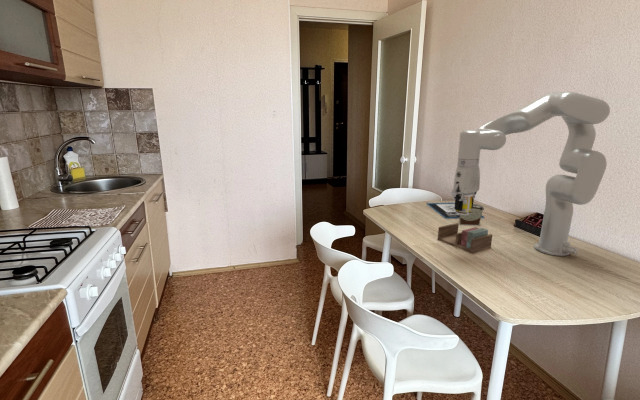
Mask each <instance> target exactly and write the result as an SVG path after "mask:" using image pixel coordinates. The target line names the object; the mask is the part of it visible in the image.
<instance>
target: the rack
mask: <svg viewBox="0 0 640 400" xmlns="http://www.w3.org/2000/svg"><path fill="white" fill-rule="evenodd" d="M459 225H460V222H459V223H458V222H455V223H451V224H447V225H442V226H438V231H437V241H440V242H442V243H445V244H448V245H450V246H452V247H455V248H457V249H459V250H462V251H464V252H467V253H469V254H472V255H473V254H476V253H479V252H482V251H486V250H489V249H491V248H492V241H493V234H492V233H489V229H487V228H484V227H480V228H479V227H476V226H475V227H474V226H473V227H470V228H466V229H463V230H461V231H460V232H459Z"/></svg>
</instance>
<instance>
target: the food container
mask: <svg viewBox="0 0 640 400" xmlns="http://www.w3.org/2000/svg"><path fill="white" fill-rule="evenodd" d="M483 211H485V208H484V206H483V205H481V204H479V203H473V208H472V209H471V214H469V215H460V219H459V225H460V226H480V224H481V219H482V218H481V216H483Z"/></svg>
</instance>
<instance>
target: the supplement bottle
mask: <svg viewBox="0 0 640 400" xmlns="http://www.w3.org/2000/svg"><path fill="white" fill-rule="evenodd" d="M460 193H461V192H460ZM460 195H461V194H459V196H460ZM472 197H473V194H472V193H469V194H464V196H463V199H462V201H463V208H462V211H458V210H456V213H457V214H460V215H469V214H471V207H472Z"/></svg>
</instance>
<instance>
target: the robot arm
mask: <svg viewBox="0 0 640 400" xmlns="http://www.w3.org/2000/svg"><path fill="white" fill-rule="evenodd" d="M610 112H611V109H610V105H609V104H608V103H607V102H606V101H605V100H603V99H601V98H597V97H593V96H590V95H586V94H582V93H579V92H574V91H558V92H551V93H548V94H545V95H543V96H541V97H540V98H537V99H536V100H534V101H533V102H531V103H528V104H527V105H526V106H524V107H522V108H520V109H518V110H516V111H513V112H510V113H508V114H506V115H503V116H500V117H497V118H496V119H493V120H491V121H489V122H488V123H485V124H484V125H482V126H480V127H478V128H477V129H465V130H462V131H461V132H460V134H459V144H458V154H457V155H458V156H457V165H456V170H455V172H454V173H455V174H454V180H453V188H452V190H451V192H450V193H451V195H452V196H453V198H454V203H455V208H454V209H455V210H458V211H462V208H463V201H462V199H463V196H464V194H469V193H472V194H473V197H472V207H471V209H472V208H473V204H474V201H475V200H474V199H475V198H476V194H477V192H479V190H480V183H481V182H480V181H481V170H480V157H481V156H480V155H481V150H488V151H497V150H500V149H502V148H503V147H504V146H505V144H506V142H507V137H506V136H507V135H511V134H518V133H523V132H527V131H531V130H533V129H534V128H536V127H538V126H540V125H541V124H543V123H545V122H546V121H549V120H550V119H552V118H554V117H561V119H562V120H563V121H564V122H565V124H566V126H567V130H568V136H567V139H566V143H565V145H564V148H563V151H562V154H561V156H560V158H559V162H558V165H559V168H560V169H561V170H562V171H564V172H568V173H571V174H575V176H571V175H567V174H555V175H553V176H551V177H550V178H549V179H548V180H547V181H546V183H545V205H544V211H543V218H542V223H541V229H540V235H539V236H540V237H539V241H538V242H535V243H534V245H533V247H534V249H535V250H537V252H539V253H540V252H541V253H543V254H547V255H551V256H557V257H559V256H561V257H564V256H565V257H566V256H569V255H570V254H573V255H576V254H577V253H578V249H577V247H574V246H571V245H570V244H571V242H569V237H570V236H569V235H570V230H571V224H572V220H573V216H574V204H575V205H578V206H580V205H581V206H583V205H587V204H589V203H590V202H592V200H593V198H595V195H596V194H597V192H598V190H599V187H600V184H601V181H602V179H603V177H604V175H605V171H606V169H607V165H608V164H607V163H608V162H607V158H606V156H605V154H603V152H600V151H598V150H592V149H593V146H594V143H595V141H596V136H597V134H596V129H595V128H596V127H595V125H598V124H601V123H603V122H605V120H607V118H609V115H610ZM460 192H461V193H460ZM459 194H461V195H460V196H459Z"/></svg>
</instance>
